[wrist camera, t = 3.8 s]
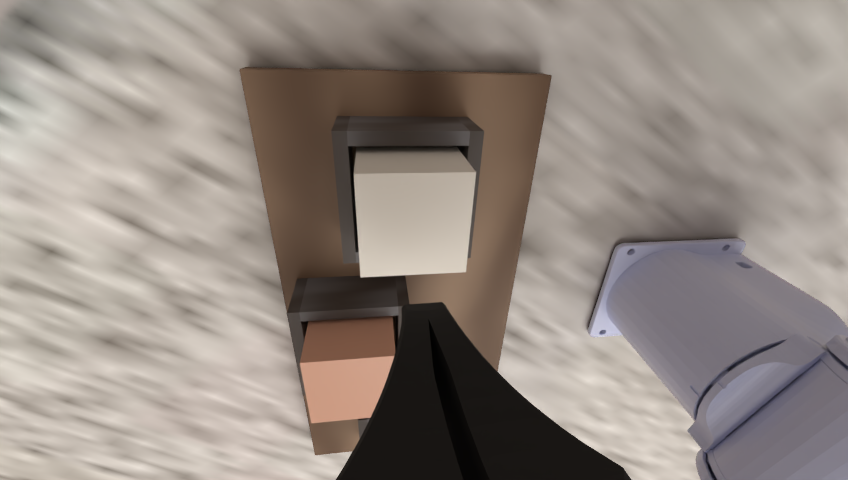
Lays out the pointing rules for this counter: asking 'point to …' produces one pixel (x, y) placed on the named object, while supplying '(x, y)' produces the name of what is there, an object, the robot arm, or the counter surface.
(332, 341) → the salmon pink cube
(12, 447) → the counter surface
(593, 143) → the counter surface
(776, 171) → the counter surface
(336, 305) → the brown socket board
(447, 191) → the cream cube
